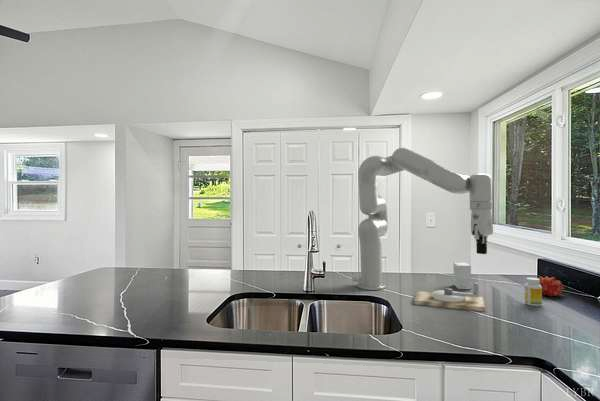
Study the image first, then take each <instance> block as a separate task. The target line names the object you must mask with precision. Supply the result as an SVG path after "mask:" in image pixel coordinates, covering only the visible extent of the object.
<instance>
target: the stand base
mask: <svg viewBox="0 0 600 401" xmlns="http://www.w3.org/2000/svg"><path fill="white" fill-rule="evenodd" d="M432 292H433V291H431V292H430V291H420V290H418V291H417V292H416V295H415V297H414V299H413V304H414V305H419V306H426V307H427V306H429V307H436V308H437V307H439V308H446V309H447V308H448V309H457V310H465V311H466V310H467V311H475V312H476V311H477V312H486V306H485V302H484V296H479V297H468V296H466V300H465V301H464V302H458V303H450V302H442V301H438V300H435V299H433V298H432Z"/></svg>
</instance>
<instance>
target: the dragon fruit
mask: <svg viewBox="0 0 600 401" xmlns="http://www.w3.org/2000/svg"><path fill="white" fill-rule="evenodd" d="M537 278H538V279H540V283H539V284H540V285H541V286H542V297H543V296H546V295H547V296H549V297H553V296H554V297H560V296H561V293H562V292H563V291H564V290H565V286H564V284H563V283H562V282H561V280H558V279H556V278H555V277H554V276H552V277H548V275H546V276H544V277H543V276H538V277H537Z"/></svg>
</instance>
